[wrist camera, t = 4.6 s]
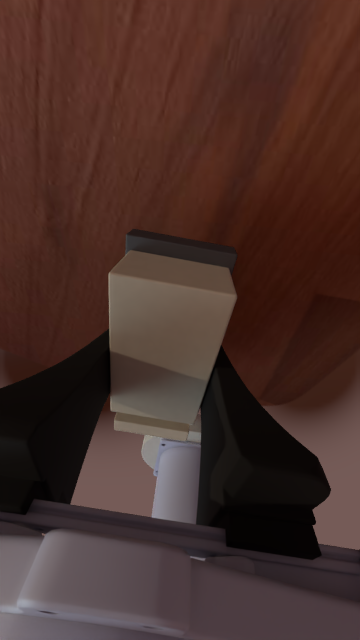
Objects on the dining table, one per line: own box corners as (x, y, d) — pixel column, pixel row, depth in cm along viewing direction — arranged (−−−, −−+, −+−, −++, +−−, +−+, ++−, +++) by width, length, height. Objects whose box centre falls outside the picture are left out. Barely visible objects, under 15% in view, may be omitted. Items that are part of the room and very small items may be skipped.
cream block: (191, 396, 16) (188, 453, 13) (126, 386, 16) (107, 439, 13) (234, 247, 11) (250, 280, 7) (132, 228, 10) (100, 253, 7)
